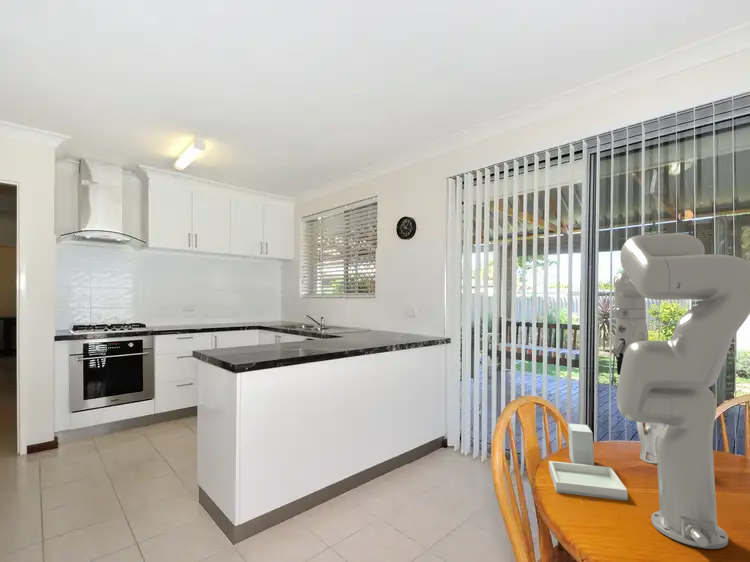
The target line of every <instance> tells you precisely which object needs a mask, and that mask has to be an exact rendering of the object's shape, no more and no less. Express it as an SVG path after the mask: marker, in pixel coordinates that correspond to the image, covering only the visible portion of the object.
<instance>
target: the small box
mask: <svg viewBox="0 0 750 562" xmlns="http://www.w3.org/2000/svg"><path fill="white" fill-rule="evenodd" d="M567 428H568V429H567V430H568V432H567V433H568V448H569V449H568V451H569V458H570V460H571V461H570V462H571V463H574V464H584V465H594V466H595V450H594V437H593V436H594V434H593V433H594V432H592V430H591V428H590V427H589V426H588V424H582V423H581V424H579V423H567Z"/></svg>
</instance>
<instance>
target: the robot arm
mask: <svg viewBox="0 0 750 562" xmlns="http://www.w3.org/2000/svg"><path fill="white" fill-rule="evenodd" d="M705 251H706V249H705V246H704V244H703V242H702V240H700V239H699V238H698V237H696V236H694V235H691V234H688V233H681V232H676V233H674V232H673V233H672V232H671V233H658V234H657V233H655V234H654V233H653V234H640V235H634V236H631V237H630V238H628V239H627V240H625V242H624V243H623V245H622V248H621V250H620V264H621V267H622V269H623V271H621V272H619V273H617V274H615V275H614V276H613V293H614V294H613V296H614V297H613V299H614V316H615V321H616V323H615V344H614V346H613V351H614V356H615V361H616V369H617V370H616V372H617V375H618V376H619V377H618V383H617V387H616V406H617V409H618V412H619V413H620V414H621V416H622V417H624V418H625V419H626V420H629V421H631V422H636V423H637V422H643V423H658V424H664V429H663V430H662V431H661V433H660V434H659V436H658V439H657V443H656V450H657V464H656V466H657V468H656V469H657V483H658V484H657V487H658V503H659V506H658V507H659V510H656V511H655V512H653V513H652V514H651V517H650V518H651V524H652V525H653V526H654V528H655V529H656V530H657V531H659V533H661V534H663V535H664V536H666V537H668V538H670V539H673V540H675V541H677V542H679V543H682V544H684V545H687V546H691V547H697V548H700V549H706V550H708V549H709V550H711V549H712V550H718V549H722V548H725V547H726V546H727V547H728V544H729V536H728V534H727V532H726V531H725V530H724V529H723V528H722V527H720V526H719V525H718V520H717V518H718V516H717V514H718V513H717V501H716V499H717V498H716V486H715V483H716V482H715V468H714V467H715V466H714V465H715V464H714V448H713V447H714V443H713V441H714V440H713V435H714V426H715V420H716V415H717V400H716V397H715V394H714V392H712V390H711V389H710V387H713V385H714V384H715V383H716V382H717V380H718V378H719V376H720V375H721V371H722V369H723V367H724V363H725V361H726V358H727V356H728V353H729V351H730V347H731V346H732V345H731V344H732V341H733V339H734V337H735V336H736V334H737V332H738V331H739V329H740V328H741V327H742V325H743V324H744V323H745V322H746V320H747V319H748V318H749V315H750V262H749V261H748V260H746V259H744V258H742V257H738V256H734V255H729V254H716V253H715V254H705V253H706V252H705ZM646 299H649V300H654V301H655V300H656V301H663V300H664V301H665V300H667V301H668V300H669V301H670V300H673V301H674V300H675V301H677V300H682V301H683V300H685V301H686V300H689V301H690V300H702V301H701V302H700V303H699V304H697V305H695V306H694V307H692V308H691V309H689V310H688V311H686V313H684V314H683V315H682V316H681V318H680V319H678V320H677V322H676V324H675V327H674V330H673V334H672V336H671V338H669V339H667V340H649V339H650V338H649V332H648V326H647V325H648V324H647V322H646V320H647V318H646V317H647V316H646V311H647V310H646Z"/></svg>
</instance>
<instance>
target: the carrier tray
mask: <svg viewBox="0 0 750 562" xmlns="http://www.w3.org/2000/svg"><path fill="white" fill-rule="evenodd" d="M548 471H549V473H550V476H551V480H552V484H553V486H554V490H555V492H556V493H560V494H561V493H562V494H570V495H578V496H585V497H594V498H601V499H611V500H617V501H618V500H619V501H627V502H628V501H629V498H628V497H629V496H628V488H627V487H626V486H625V485H624V484H623V482H622V480H621V479H620V477H619V476H618V475H617V474H616V471H614V470H613V468H612V466H601V465H595V464H594V465H584V464H574V463H572V462H563V461H554V460H548Z"/></svg>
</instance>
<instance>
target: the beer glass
mask: <svg viewBox="0 0 750 562" xmlns="http://www.w3.org/2000/svg"><path fill="white" fill-rule="evenodd" d="M664 427H665V424H658V423H643V422H636V429H637V433H638V434H637V435H638V437H639V442H640V452H639V453H640V455H639V459H640V460H641V461H643V462H646V463H649V464H652V465H653V464H654V465H657V450H656V443H657V439H658V436H659V434H660V433H661V431H662V430H663V429H664Z"/></svg>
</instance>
